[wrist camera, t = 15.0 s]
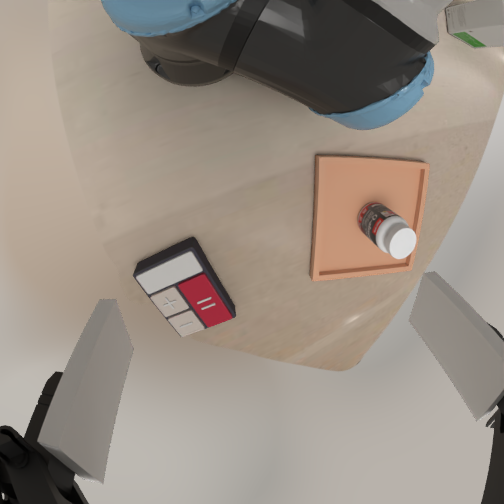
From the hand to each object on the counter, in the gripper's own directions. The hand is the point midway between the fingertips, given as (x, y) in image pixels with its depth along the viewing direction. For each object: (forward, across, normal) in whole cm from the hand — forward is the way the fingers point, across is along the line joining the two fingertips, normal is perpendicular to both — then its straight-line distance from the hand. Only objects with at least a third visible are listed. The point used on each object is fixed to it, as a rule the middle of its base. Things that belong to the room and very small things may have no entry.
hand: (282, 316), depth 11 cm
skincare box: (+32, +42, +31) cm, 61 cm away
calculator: (+32, -10, -19) cm, 39 cm away
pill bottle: (+31, +21, -8) cm, 38 cm away
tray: (+32, +21, -8) cm, 39 cm away
